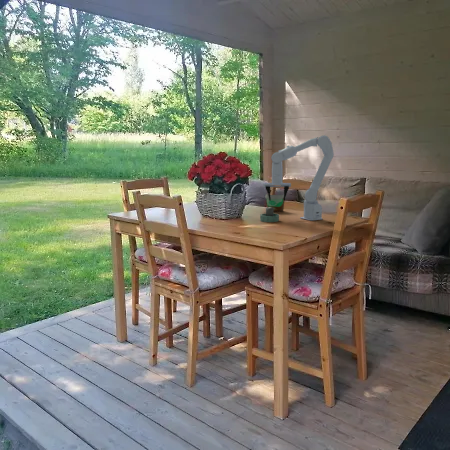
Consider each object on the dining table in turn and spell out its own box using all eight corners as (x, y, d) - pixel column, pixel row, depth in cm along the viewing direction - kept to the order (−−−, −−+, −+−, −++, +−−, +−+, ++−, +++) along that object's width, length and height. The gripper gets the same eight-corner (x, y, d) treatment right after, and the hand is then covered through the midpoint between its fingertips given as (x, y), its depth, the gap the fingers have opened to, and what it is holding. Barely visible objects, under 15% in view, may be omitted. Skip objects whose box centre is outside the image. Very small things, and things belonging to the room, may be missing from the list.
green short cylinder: (282, 220, 243) (282, 215, 243) (267, 222, 238) (267, 216, 238) (271, 218, 251) (271, 212, 251) (256, 219, 247) (256, 214, 246)
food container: (263, 212, 272) (263, 195, 270) (265, 210, 278) (265, 193, 276) (284, 212, 268) (284, 195, 266) (285, 211, 274) (286, 194, 272)
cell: (274, 219, 244) (274, 207, 243) (268, 220, 242) (268, 208, 241) (270, 218, 248) (270, 206, 246) (264, 219, 246) (264, 207, 245)
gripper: (290, 174, 251) (290, 199, 254) (263, 174, 252) (263, 199, 255) (291, 175, 244) (291, 201, 247) (263, 175, 245) (263, 201, 248)
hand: (277, 200), depth 250 cm, fingers open, 7 cm apart
